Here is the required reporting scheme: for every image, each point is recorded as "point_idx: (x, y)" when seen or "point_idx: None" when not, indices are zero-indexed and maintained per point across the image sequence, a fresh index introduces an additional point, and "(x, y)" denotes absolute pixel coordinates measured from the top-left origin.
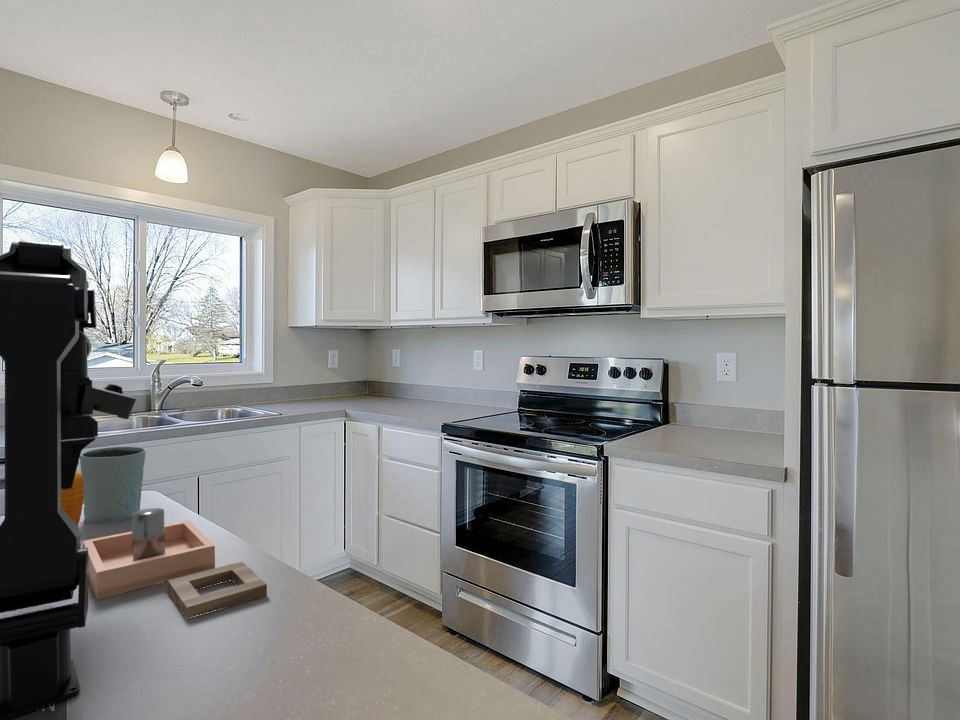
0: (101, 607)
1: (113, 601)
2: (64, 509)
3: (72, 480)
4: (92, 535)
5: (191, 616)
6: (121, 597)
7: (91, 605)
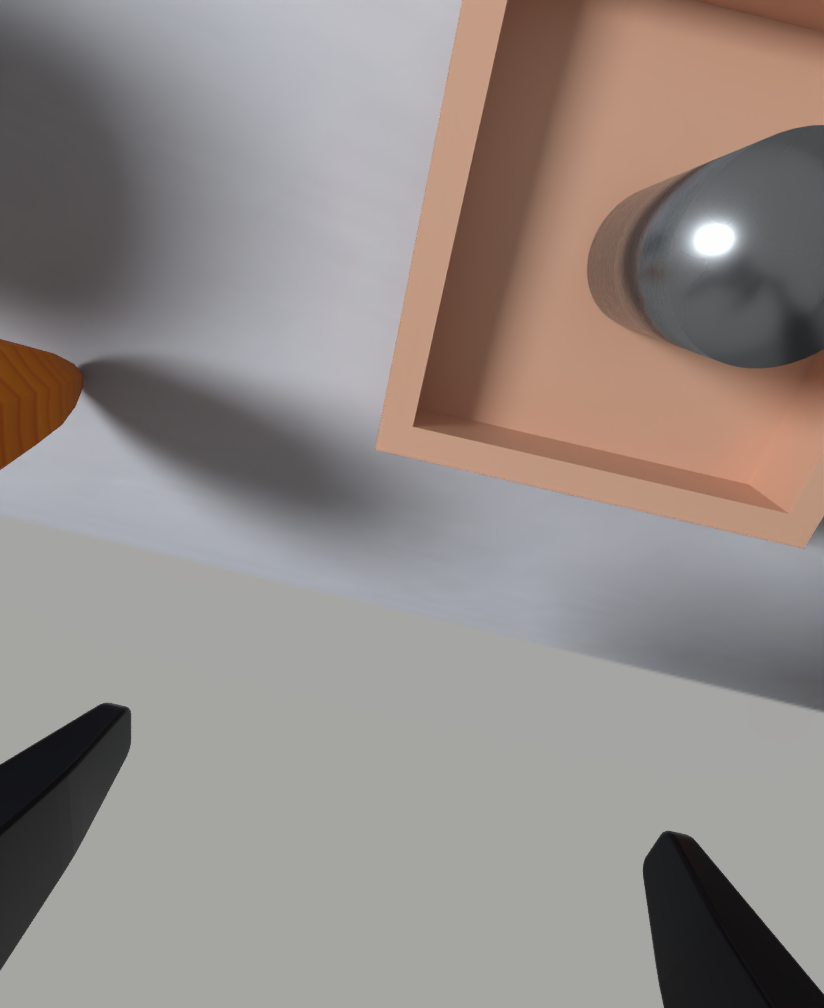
0: None
1: None
2: (7, 441)
3: (745, 907)
4: (37, 267)
5: None
6: None
7: None
